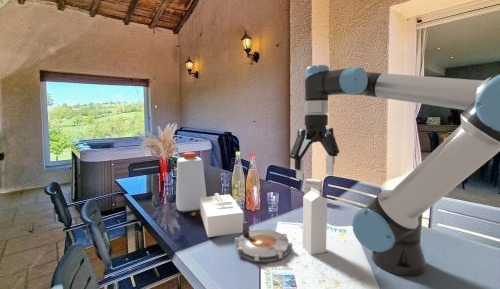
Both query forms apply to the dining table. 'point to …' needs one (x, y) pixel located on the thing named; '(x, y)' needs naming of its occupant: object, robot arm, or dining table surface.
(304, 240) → the milk
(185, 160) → the plastic bottle
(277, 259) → the sprocket base
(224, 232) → the tissue box
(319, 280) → the dining table surface
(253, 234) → the sprocket
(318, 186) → the ink box
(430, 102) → the robot arm
